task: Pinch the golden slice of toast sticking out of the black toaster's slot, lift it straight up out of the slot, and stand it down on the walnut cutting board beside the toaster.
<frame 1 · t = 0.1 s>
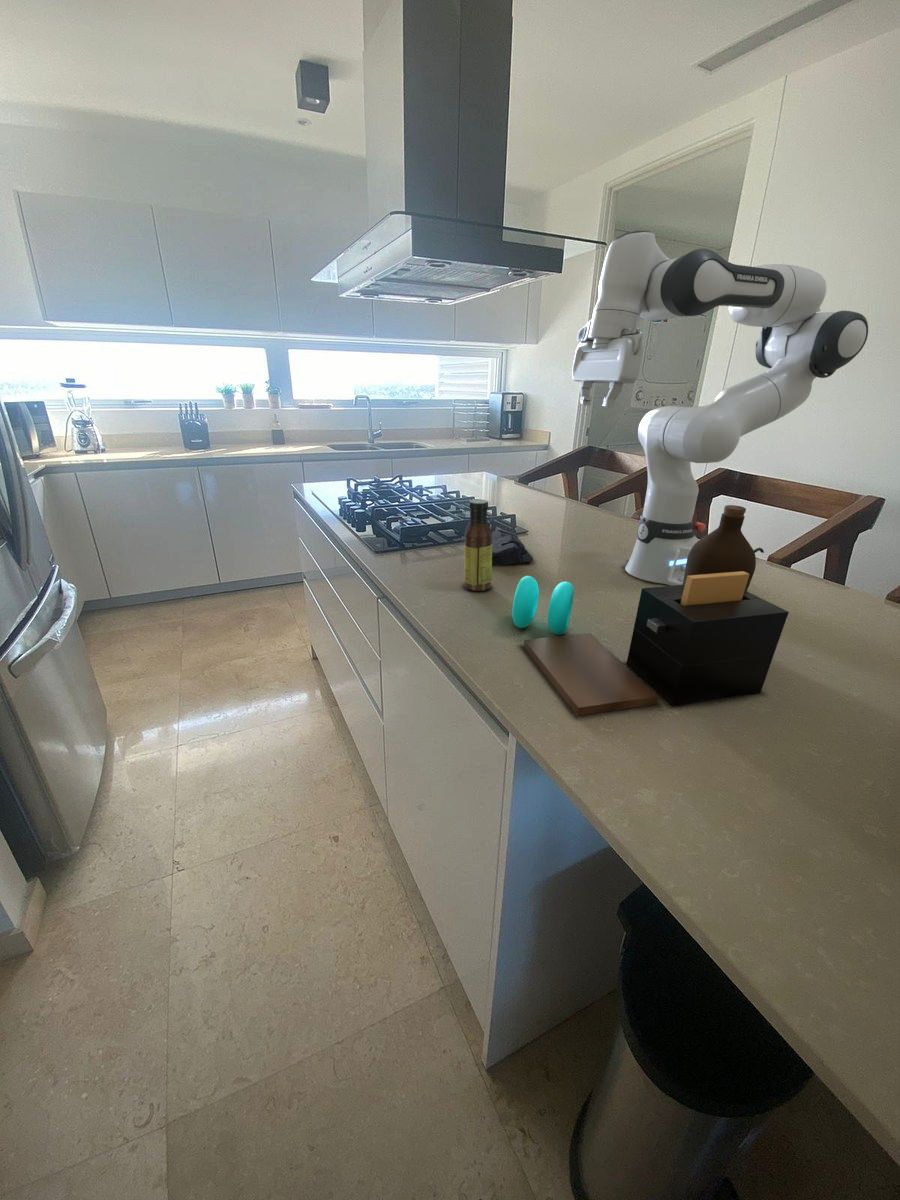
hand: (595, 406, 101), 39 cm above the worktop, tool pointing down, fingers open, 8 cm apart
dark slate chunk: (500, 552, 135), on the worktop
sauce bottle: (476, 587, 111), on the worktop
cutting board: (583, 673, 79), on the worktop
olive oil: (700, 639, 91), on the worktop
toaster: (690, 677, 79), on the worktop
toast: (700, 640, 76), point 7 cm above the worktop, touching toaster
turquoise disc pair: (540, 629, 93), on the worktop
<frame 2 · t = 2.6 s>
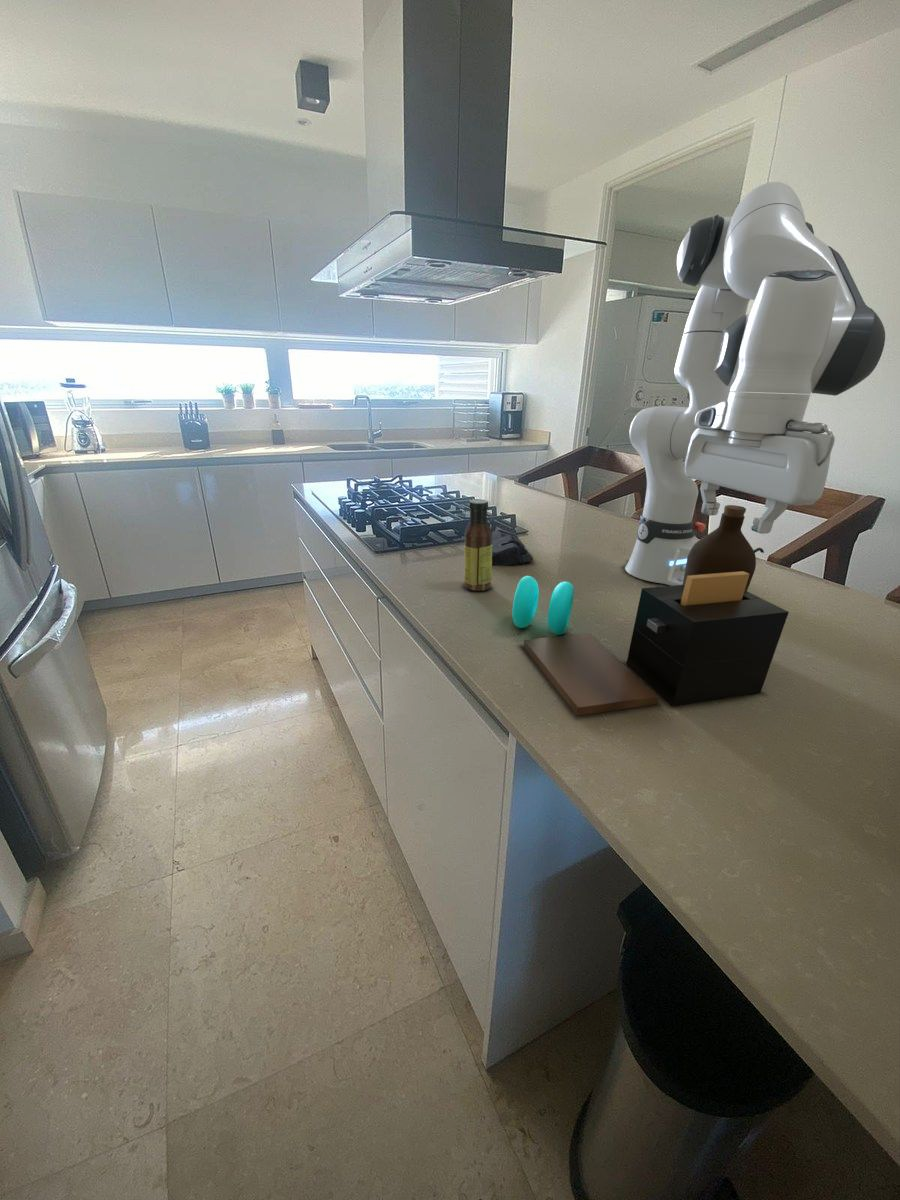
hand: (732, 522, 68), 26 cm above the worktop, tool pointing down, fingers open, 8 cm apart
nothing on the worktop moved.
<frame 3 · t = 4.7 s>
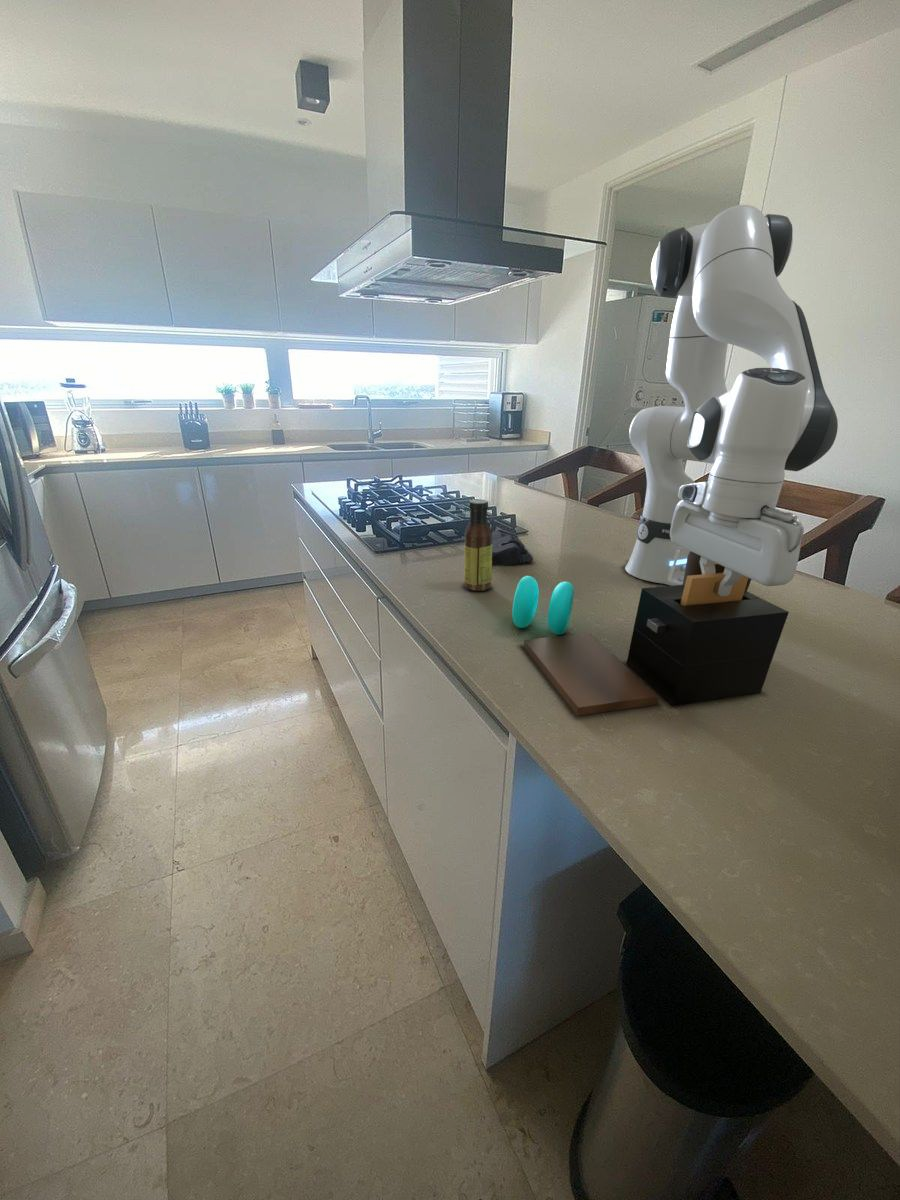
hand: (714, 590, 72), 15 cm above the worktop, tool pointing down, fingers closed on toast, 1 cm apart
toast: (700, 640, 76), point 7 cm above the worktop, touching gripper, toaster
everything else where it was.
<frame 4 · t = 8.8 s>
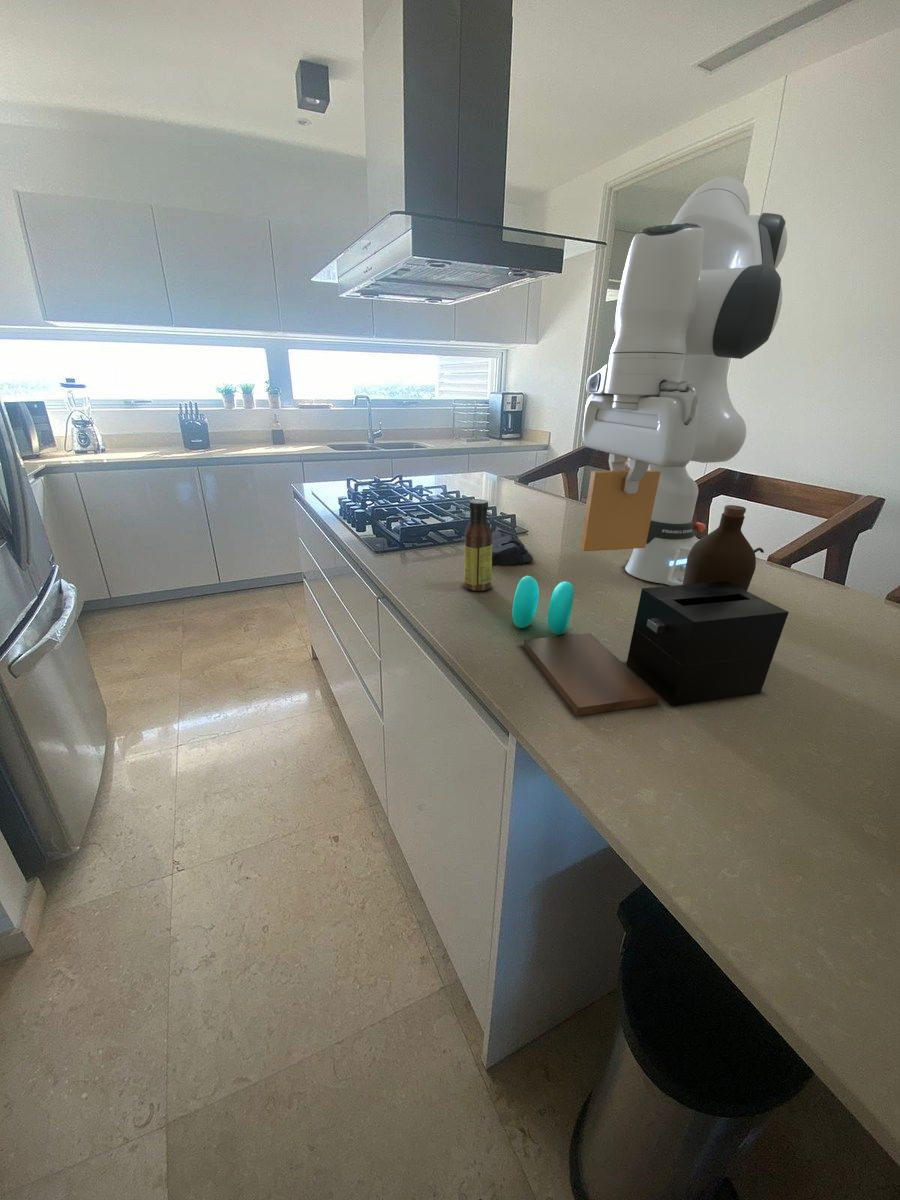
hand: (623, 490, 67), 30 cm above the worktop, tool pointing down, fingers closed on toast
toast: (612, 548, 70), point 21 cm above the worktop, touching gripper
everything else where it was.
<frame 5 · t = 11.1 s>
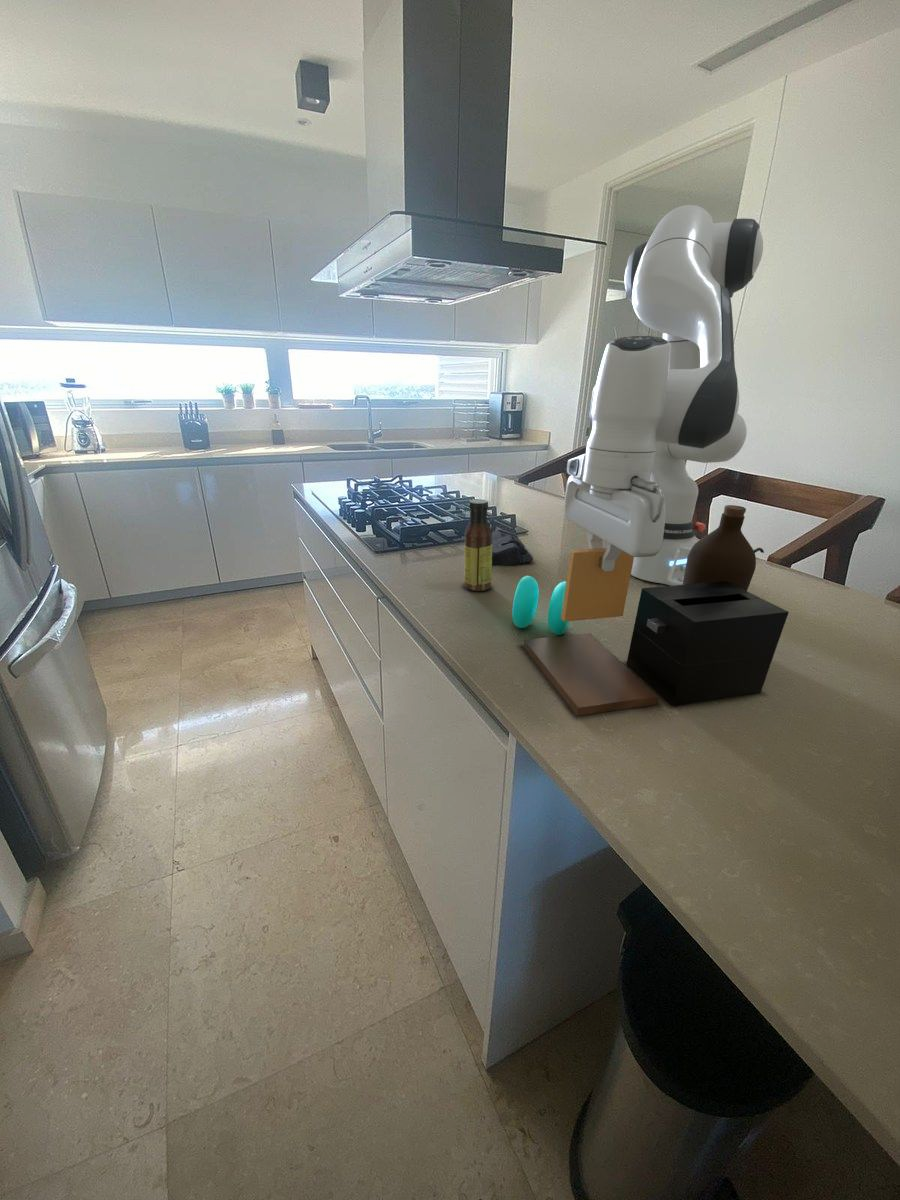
hand: (600, 566, 72), 19 cm above the worktop, tool pointing down, fingers closed on toast
toast: (592, 617, 75), point 10 cm above the worktop, touching gripper
everything else where it was.
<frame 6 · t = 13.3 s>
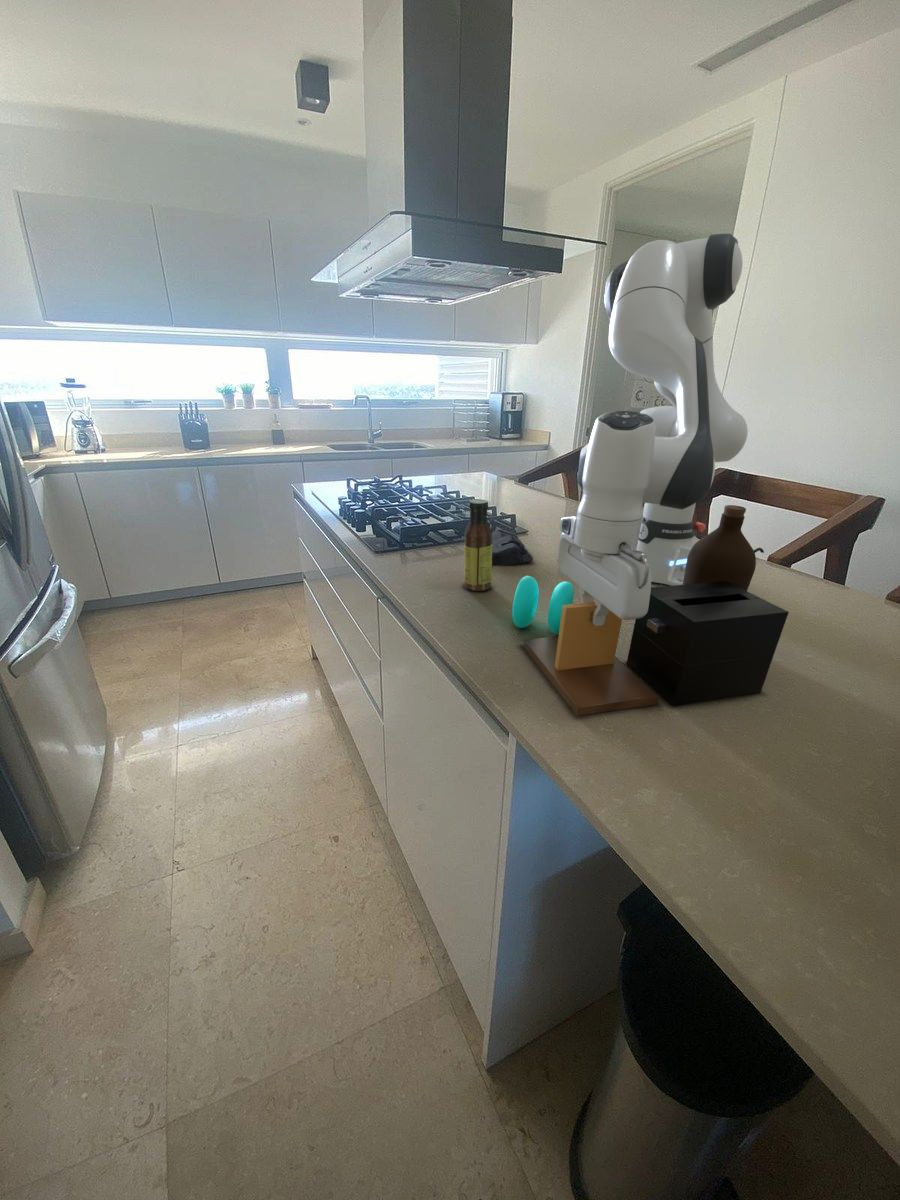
hand: (592, 619, 75), 10 cm above the worktop, tool pointing down, fingers closed
toast: (584, 665, 79), point 2 cm above the worktop, touching cutting board
everything else where it was.
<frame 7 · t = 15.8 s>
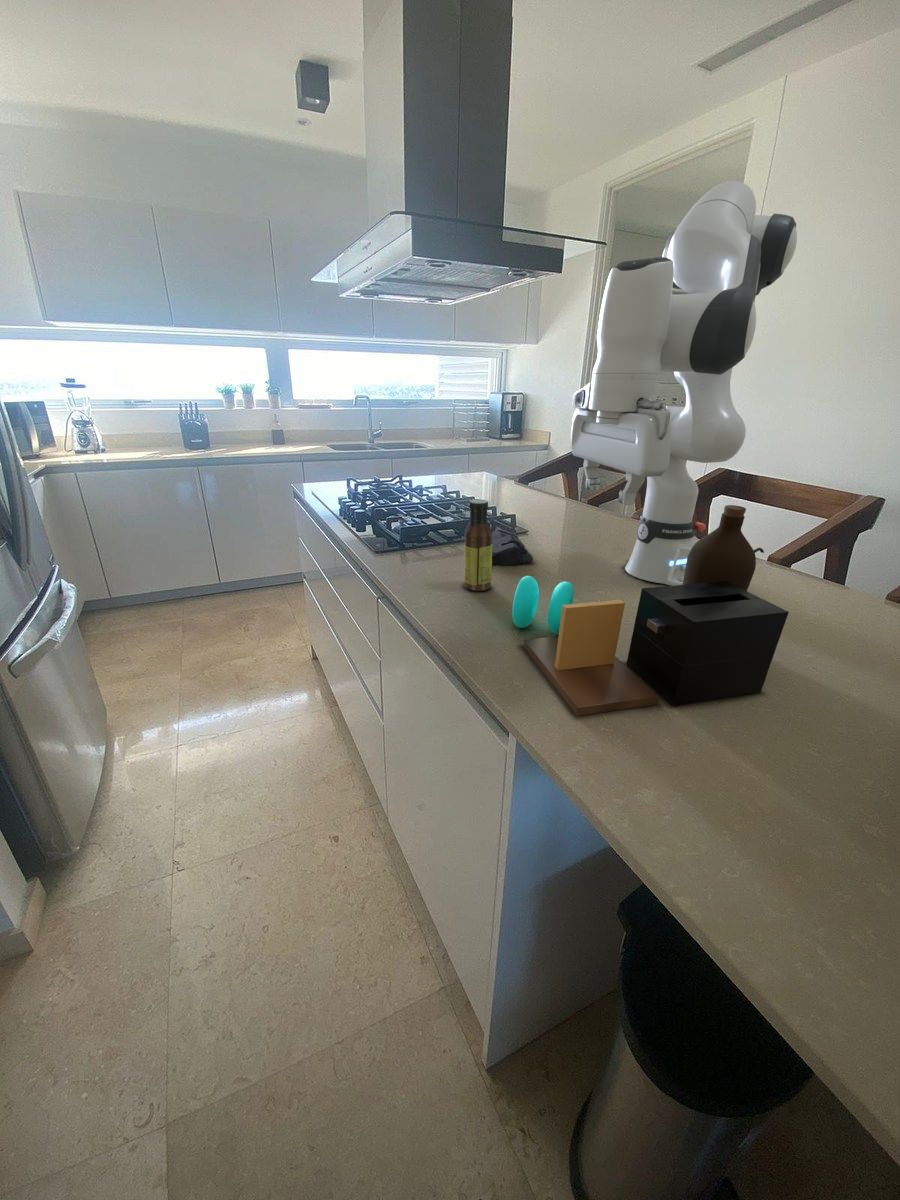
hand: (608, 496, 73), 28 cm above the worktop, tool pointing down, fingers open, 8 cm apart
nothing on the worktop moved.
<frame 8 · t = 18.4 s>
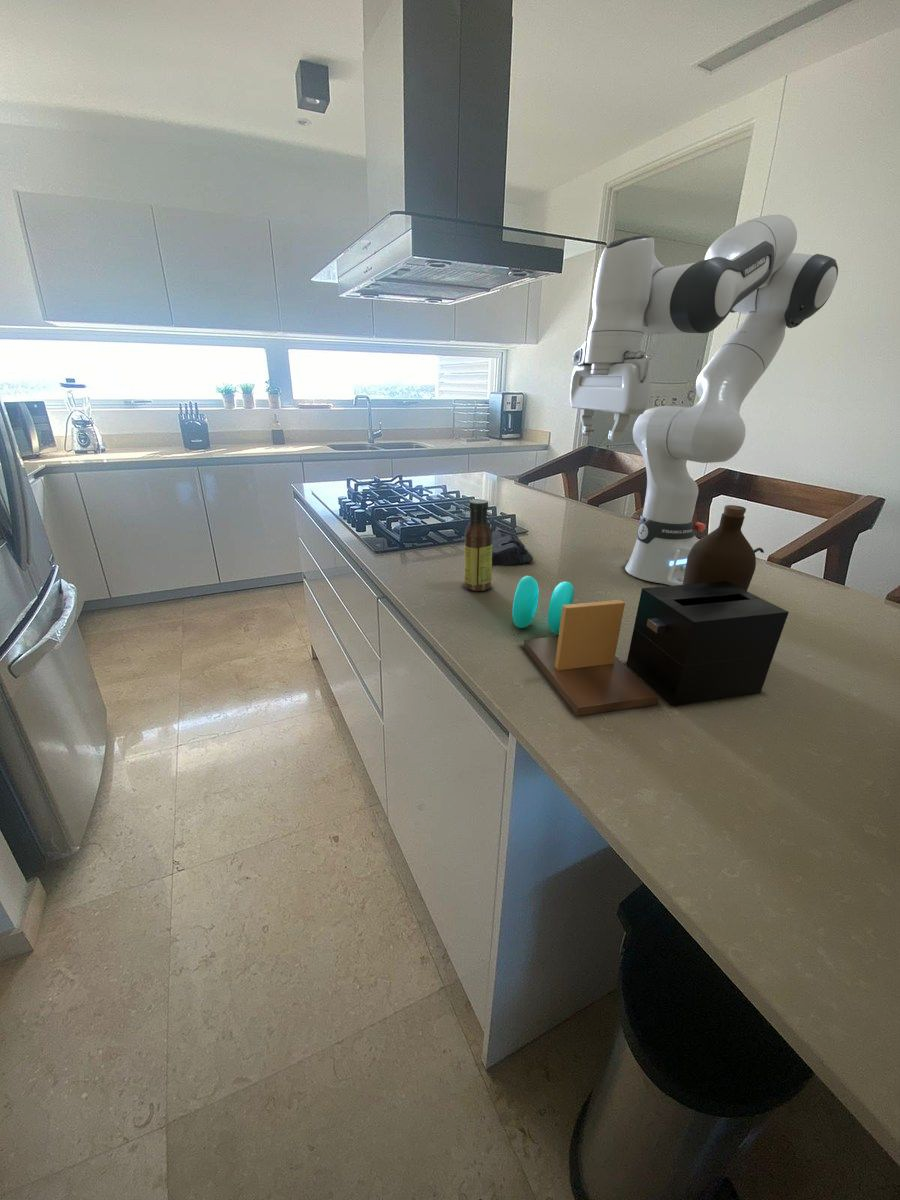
hand: (600, 438, 88), 34 cm above the worktop, tool pointing down, fingers open, 8 cm apart
nothing on the worktop moved.
at the end: toast inside the target area on the cutting board (0.1 cm from its centre), point 1.5 cm above the cutting board's base; toast moved 18.2 cm from its start; the gripper is holding nothing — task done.
